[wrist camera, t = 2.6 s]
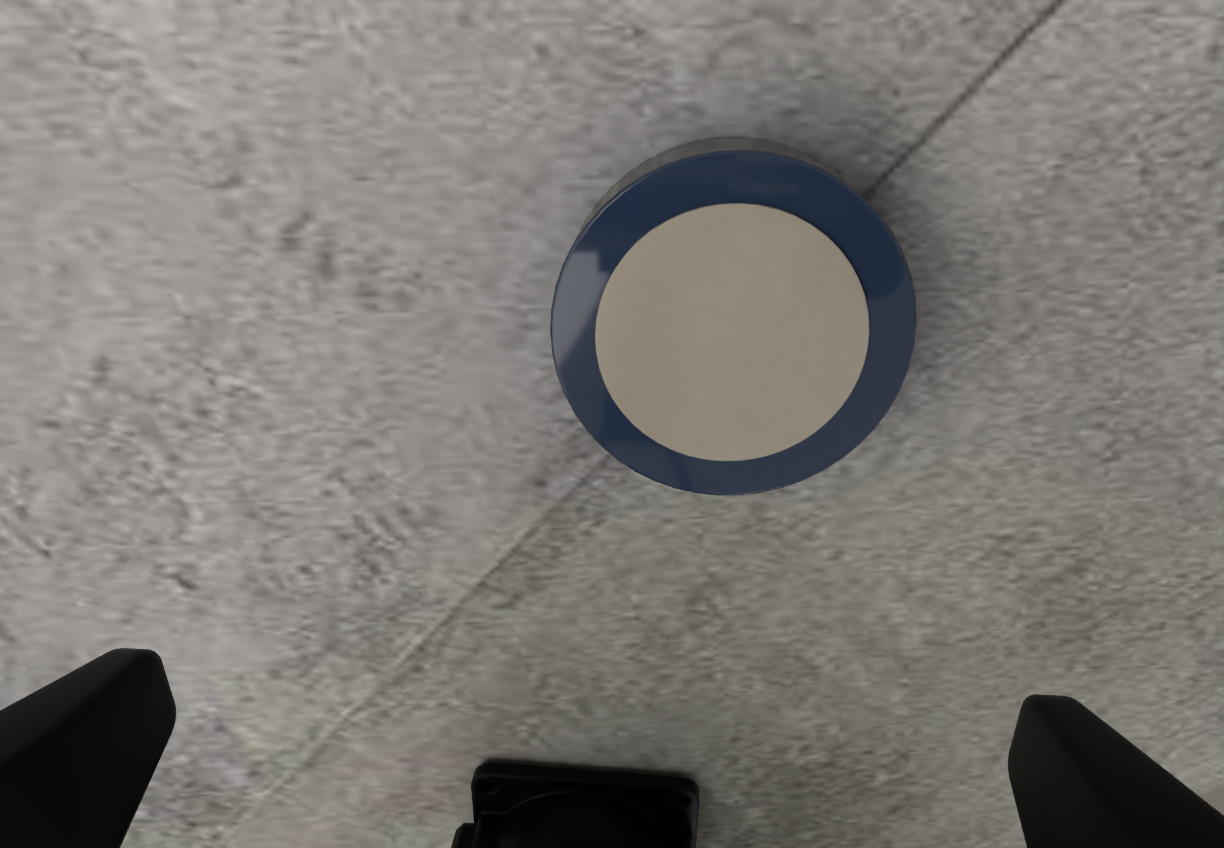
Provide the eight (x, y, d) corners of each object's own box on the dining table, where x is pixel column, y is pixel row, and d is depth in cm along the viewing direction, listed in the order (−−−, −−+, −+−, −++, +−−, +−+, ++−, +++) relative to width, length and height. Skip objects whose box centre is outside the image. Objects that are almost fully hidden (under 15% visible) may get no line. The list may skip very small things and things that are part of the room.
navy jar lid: (920, 140, 16) (951, 155, 14) (867, 460, 19) (888, 507, 17) (561, 132, 17) (545, 146, 15) (565, 446, 20) (552, 490, 18)
